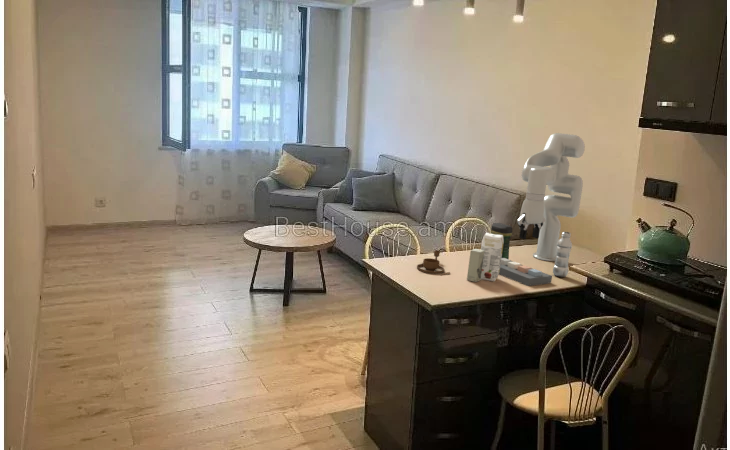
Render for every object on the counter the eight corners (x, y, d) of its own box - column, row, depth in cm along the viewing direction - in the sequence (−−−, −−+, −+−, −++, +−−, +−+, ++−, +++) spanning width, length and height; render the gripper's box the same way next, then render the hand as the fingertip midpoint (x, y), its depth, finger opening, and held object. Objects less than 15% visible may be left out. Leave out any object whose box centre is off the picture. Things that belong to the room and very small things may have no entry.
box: (476, 282, 262) (480, 252, 259) (466, 280, 264) (470, 250, 261) (480, 280, 266) (484, 250, 264) (471, 277, 269) (475, 248, 266)
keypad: (508, 266, 292) (509, 260, 291) (551, 283, 272) (552, 275, 271) (486, 269, 284) (487, 262, 284) (528, 285, 264) (529, 278, 263)
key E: (534, 273, 273) (534, 269, 272) (541, 276, 269) (542, 271, 269) (527, 274, 271) (528, 269, 270) (534, 277, 267) (535, 272, 267)
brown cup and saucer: (405, 267, 276) (406, 254, 275) (434, 262, 291) (435, 249, 289) (437, 278, 265) (438, 264, 263) (465, 271, 279) (467, 258, 278)
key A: (513, 265, 283) (514, 261, 282) (520, 268, 279) (521, 264, 279) (507, 266, 280) (508, 262, 280) (513, 269, 277) (514, 264, 277)
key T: (523, 269, 278) (524, 265, 277) (530, 272, 274) (531, 267, 274) (517, 270, 275) (517, 265, 275) (524, 272, 272) (524, 268, 272)
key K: (504, 262, 287) (504, 257, 287) (510, 264, 284) (511, 260, 284) (497, 262, 285) (498, 258, 285) (504, 265, 282) (504, 260, 282)
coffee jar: (510, 264, 297) (516, 225, 293) (500, 266, 292) (505, 226, 288) (494, 259, 304) (499, 221, 300) (483, 260, 299) (488, 222, 295)
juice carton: (496, 282, 265) (502, 238, 261) (476, 278, 267) (481, 234, 264) (499, 278, 272) (505, 234, 268) (479, 274, 274) (485, 231, 271)
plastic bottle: (559, 278, 280) (566, 234, 275) (548, 274, 285) (555, 231, 281) (570, 278, 283) (577, 234, 278) (559, 273, 288) (566, 230, 284)
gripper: (542, 195, 276) (536, 235, 280) (513, 195, 267) (507, 237, 270) (555, 198, 270) (549, 239, 274) (527, 199, 261) (520, 241, 264)
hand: (528, 237), depth 272 cm, fingers open, 7 cm apart
